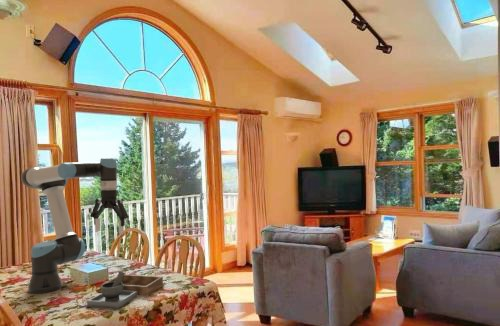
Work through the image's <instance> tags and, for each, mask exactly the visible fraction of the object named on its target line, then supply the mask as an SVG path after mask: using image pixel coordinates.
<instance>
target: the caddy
mask: <svg viewBox="0 0 500 326" xmlns="http://www.w3.org/2000/svg"><path fill="white" fill-rule="evenodd" d="M116 278H117V276H115V277H113V278H111V279H110V280H108V281H106V282H104V283H108V282H115V280H116ZM121 282H122V283H123V290H128V291H137V294H138V296H139V297H148V296H150V295H151V294H153V293H154V292H156V291H157V290H159V289H160V288H161V286H162V287H163V286H164V278H163V276H158V275H155V276H154V275H141V274H140V275H139V274H125V275H123V278H122V281H121ZM104 283H102V284H104Z"/></svg>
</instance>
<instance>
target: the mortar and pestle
mask: <svg viewBox="0 0 500 326" xmlns="http://www.w3.org/2000/svg"><path fill="white" fill-rule="evenodd" d="M123 275H126V272H124V271H123V270H122V271H118V275H117V276H116V277H117V278H116V280H115V282H108V283H105V282H104V284H103V283H102V284H101V285H100V286H99V287H100V292H101V293H102V294H103V296H104V297H105V301H106V302H115V301H118V300H119V295H120V294H121V293H122V291H123V285H124V284H123V283H122V282H121V281H122V278H123Z"/></svg>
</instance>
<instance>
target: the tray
mask: <svg viewBox="0 0 500 326" xmlns="http://www.w3.org/2000/svg"><path fill="white" fill-rule="evenodd" d="M137 298H138V294H137V291H128V290H123V291H122V293H121V294H120V295H119V300H118V301H115V302H106V301H105V297H104V296H103V294H102V292H101V293H99V294H97V295H95V296H93V297H91V298H89V299H87V300H86V307H87V308H99V309H110V308H111V309H112V310H113V309H114V310H119V309H121V308H123V307H124V306H125V305H127V304H128V303H130V302H131V301H134V300H135V299H137ZM111 309H110V310H111Z"/></svg>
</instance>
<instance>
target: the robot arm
mask: <svg viewBox="0 0 500 326" xmlns="http://www.w3.org/2000/svg"><path fill="white" fill-rule="evenodd" d="M117 168H118V166H117V159H116V158H115V157H102V158H100V159H99V161H77V162H71V161H70V162H62V163H60V164H56V165H52V166H33V167H28V168H26V169H24V171H22V173H21V175H20V180H21V183H22V184H23V185H24V186H25V187H27V188H29V189H34V190H35V189H41V193H42V194H44V195H45V196H46V200H47V203H48V208H49V213H50V216H51V219H52V220H51V221H52V225H53V228H54V229H53V230H54V233H55V238H54V240H46V241H42V242H38V243H36V244H34V245H33V246H31V249H30V250H31V251H30V252H31V253H30V258H31V260H30V261H31V277H30V281H29V284H28V287H27V289H28V293H29V294H44V293H51V292H54V291H57V290H59V289H61V288H62V287H63V283H62V280H61V277H60V275H59V272H58V271H59V270H58V266H59V265H60V266H61V265H63V264H67V263H71V262H75V261H78V260H80V259H81V258H83V256H84V254H85V250H86V244H85V241H84V240H83V238H81V237H78V234H77V232H74V229H73V224H72V222H71V218H70V217H71V216H70V213H69V209H68V205H67V202H66V198H65V194H64V190H65V189H66V185H67V184H68V180H69V179H70V180H71V179H79V178H100V189H101V190H100V197H99V198H95V202H94V205H93V209H92V211H91V213H90V216H89V217H90V218H93V224H94V225H95V227H94V229H95V230H94V232H95V233H98V232H100V231H101V218H100V216H101V215H102V213H103V212H104V211H105V209H112V210H113V211H114V213H115V214H116V215H117V217H118V234H122V233H124V227H125V225H126V224H125V223H126V221H125V220H126V219H129V214H128V213H127V210H126V208H125V205H124V203H123V202H124V201H123V199H122V198H120V199H117V196H118V190H117V188H118V180H117V179H118V177H117V176H118V175H117V173H118V172H117V171H118V169H117Z"/></svg>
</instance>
